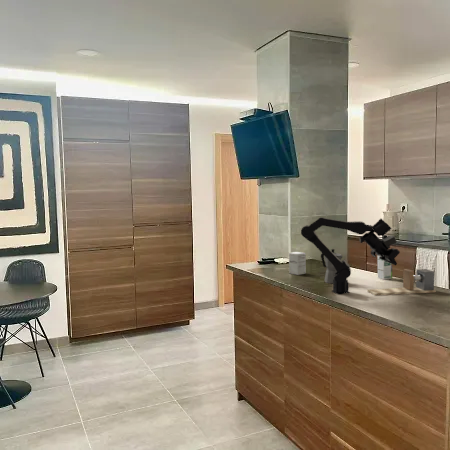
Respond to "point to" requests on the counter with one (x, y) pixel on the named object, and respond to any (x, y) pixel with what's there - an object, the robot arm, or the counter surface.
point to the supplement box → (297, 263)
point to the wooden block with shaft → (410, 279)
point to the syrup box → (384, 269)
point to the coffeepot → (330, 267)
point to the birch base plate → (397, 291)
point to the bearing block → (425, 279)
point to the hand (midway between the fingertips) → (396, 264)
